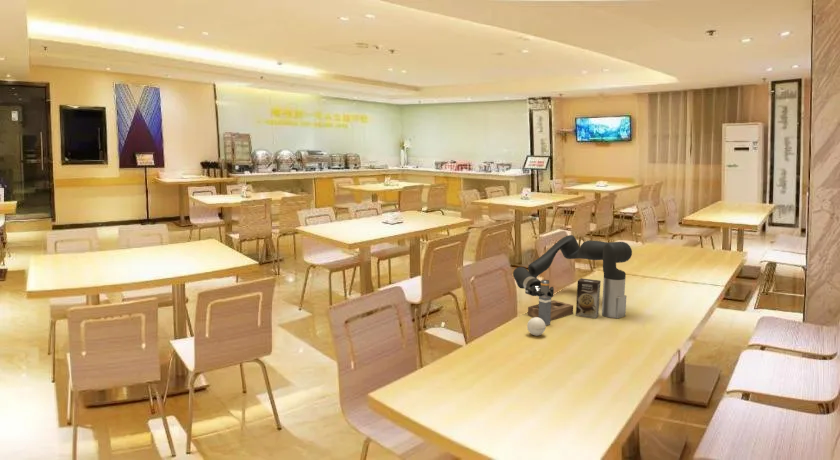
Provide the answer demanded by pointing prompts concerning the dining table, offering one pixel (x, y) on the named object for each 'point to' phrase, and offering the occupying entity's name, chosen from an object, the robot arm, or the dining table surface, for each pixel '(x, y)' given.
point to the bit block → (553, 310)
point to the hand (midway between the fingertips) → (546, 295)
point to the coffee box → (588, 298)
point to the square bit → (545, 309)
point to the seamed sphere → (536, 326)
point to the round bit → (545, 287)
